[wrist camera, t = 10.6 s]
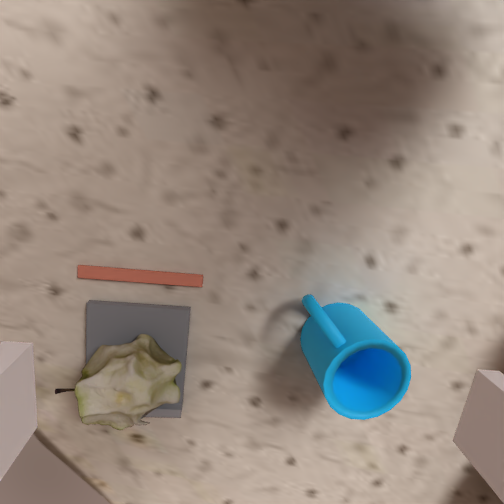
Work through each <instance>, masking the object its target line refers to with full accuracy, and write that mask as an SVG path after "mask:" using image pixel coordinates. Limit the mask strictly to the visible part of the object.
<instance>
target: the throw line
mask: <svg viewBox="0 0 504 504" xmlns="http://www.w3.org/2000/svg"><path fill="white" fill-rule="evenodd" d="M78 278H89V279H102V280H115V281H129V282H142V283H155V284H168V285H181V286H195V287H202V283H203V275H197V274H185V273H173V272H160V271H148V270H135V269H123V268H110V267H98V266H86V265H78Z"/></svg>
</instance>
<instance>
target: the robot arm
mask: <svg viewBox="0 0 504 504" xmlns="http://www.w3.org/2000/svg"><path fill="white" fill-rule="evenodd" d="M37 427H38V425H37V407H36V388H35V370H34V351H33V343H28V342H12V341H2V342H1V343H0V481H1V479H2V478H3V477H4V475H5V474H6V472H7V471H8V469H9V468H10V466H11V465H12V464H13V462H14V461H15V459H16V458H17V456H18V455H19V453H20V452H21V450H22V449H23V447H24V446H25V444H26V443H27V441H28V440H29V439H30V437H31V436H32V434H33V433H34V431H35V430H36V428H37ZM453 442H454V443H455V444H456V445H457V447H458V448H459V449H460V450H461V451H462V453H463V454H464V455H465V456H466V458H467V459H468V460H469V461H470V463H471V464H472V465H473V466H474V468H475V469H476V470H477V471H478V472H479V474H480V475H481V476H482V477H483V479H484V480H485V481H486V482H487V484H488V485H489V486H490V487H491V488H492V490H493V491H494V492H495V493H496V495H497V496H498V497H499V498H500V500H501V501H502V502H503V503H504V374H503V373H501V372H500V371H494V370H477V371H476V374H475V377H474V380H473V383H472V386H471V389H470V391H469V394H468V397H467V400H466V403H465V406H464V409H463V412H462V415H461V418H460V421H459V424H458V427H457V429H456V432H455V435H454V438H453Z"/></svg>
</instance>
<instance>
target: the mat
mask: <svg viewBox="0 0 504 504" xmlns="http://www.w3.org/2000/svg"><path fill="white" fill-rule="evenodd" d="M190 308H191V307H182V306H167V305H152V304H138V303H123V302H108V301H93V300H89V301H88V302H87V309H86V365H87V363H88V361H89V360H90V359H91V357H92V356H93V355H94V353H95V352H96V351H97V349H98V348H99V347H100V346H101V345H108V346H110V345H121V344H125V343H132V342H133V341H135V340H136V338H137V337H138V335H140V334H147V335H149V336H151V337H152V338H153V339H155V341H156V342H157V344H158V345H159V346H160V348H161V349H163V350H164V351H165V352H166V353H167V354H168V355H169V356H171V357H173V358H174V359H175V360H177V359H178V360H179V361H180V362H181V364H182V366H181V371H180V373H179V374H177V376H176V377H175V380H176V384H177V386H178V387H179V389H180V400H179V402H178V403H174V404H169V403H165V404H163V405H161V406H159V407H158V408H156V409H154V410H153V411H151V412H150V413H149V414H147V415H146V416H145V417H166V418H181V412H182V404H183V392H184V380H185V368H186V356H187V344H188V332H189V320H190Z"/></svg>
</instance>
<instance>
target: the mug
mask: <svg viewBox="0 0 504 504" xmlns="http://www.w3.org/2000/svg"><path fill="white" fill-rule="evenodd" d="M302 303H303V305H304V306H305V308H306V309H307V311H308V312H309V314H310V315H311V316H310V317H309V318H308V319H307V321H306V323H305V324H304V326H303V328H302V332H301V338H300V341H301V348H302V351H303V353H304V355H305V357H306V359H307V361H308V363H309V365H310V367H311V369H312V371H313V373H314V375H315V377H316V379H317V381H318V383H319V386H320V388H321V390H322V392H323V394H324V396H325V398H326V400H327V401H328V403H329V405H330V407H331V408H332V409H334V410H335V411H336V412H337V413H338V414H340V415H342V416H345V417H347V418H350V419H362V420H365V419H369V418H374V417H378V416H380V415H382V414H384V413H386V412H387V411H389V410H391V409H392V408H393V407H394V406H395V405H396V404H397V403H399V402H400V401H401V399H402V397H403V396H404V394H405V393H406V391H407V390H408V386H409V383H410V379H411V366H410V363H409V361H408V358H407V356H406V354H405V353H404V352H403V351H402V350H401V349H400V348H399V347H398V346H397V345H396V344H395V343H394V342H393V341H392V340H391V339H390V338H389V337H388V336H387V335H386V334H384V333H383V332H382V331H381V330H380V329H379V328H378V327H377V326H376V325H375V324H374V323H373V322H372V321H371V320H370V319H369V318H368V317H367V316H366V315H365V314H364V313H363V312H362V311H361V310H360V309H359V308H357V307H355V306H353V305H350V304H346V303H334V304H329V305H326V306H324V307H321V306H320V305H319V303H318V302H317V301H316V300H315V298H314V297H313V296H312V295H310V294H308V295H305V296H304V297H303V299H302Z"/></svg>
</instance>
